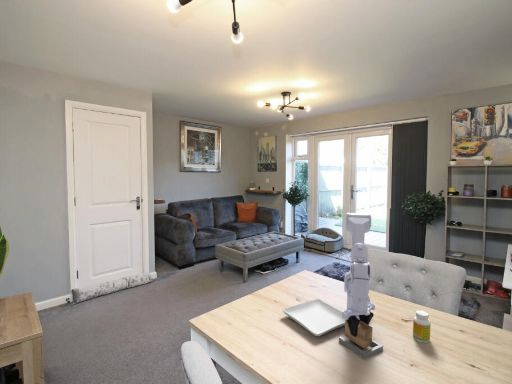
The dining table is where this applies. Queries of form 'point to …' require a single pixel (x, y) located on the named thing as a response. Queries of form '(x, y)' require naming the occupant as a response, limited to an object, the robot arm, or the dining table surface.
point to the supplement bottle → (421, 326)
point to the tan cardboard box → (360, 334)
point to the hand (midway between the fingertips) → (358, 333)
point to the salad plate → (316, 316)
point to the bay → (362, 354)
